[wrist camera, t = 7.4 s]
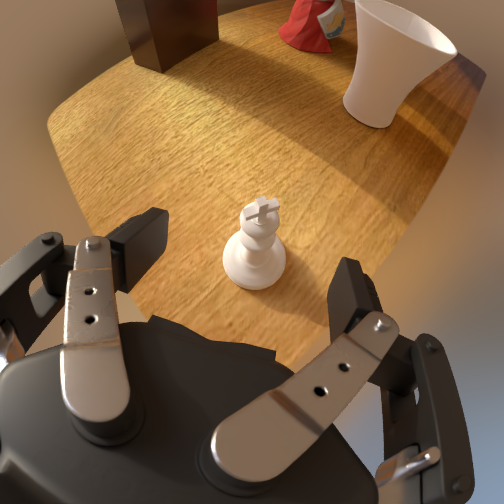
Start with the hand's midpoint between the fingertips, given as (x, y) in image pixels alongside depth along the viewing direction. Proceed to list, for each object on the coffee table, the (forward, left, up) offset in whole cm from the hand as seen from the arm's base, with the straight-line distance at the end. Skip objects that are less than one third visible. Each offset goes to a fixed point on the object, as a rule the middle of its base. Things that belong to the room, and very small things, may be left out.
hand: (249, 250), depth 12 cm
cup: (+17, +18, -9) cm, 26 cm away
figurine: (+16, +36, -9) cm, 40 cm away
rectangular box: (-5, +34, -9) cm, 35 cm away
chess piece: (+1, +2, -9) cm, 10 cm away
